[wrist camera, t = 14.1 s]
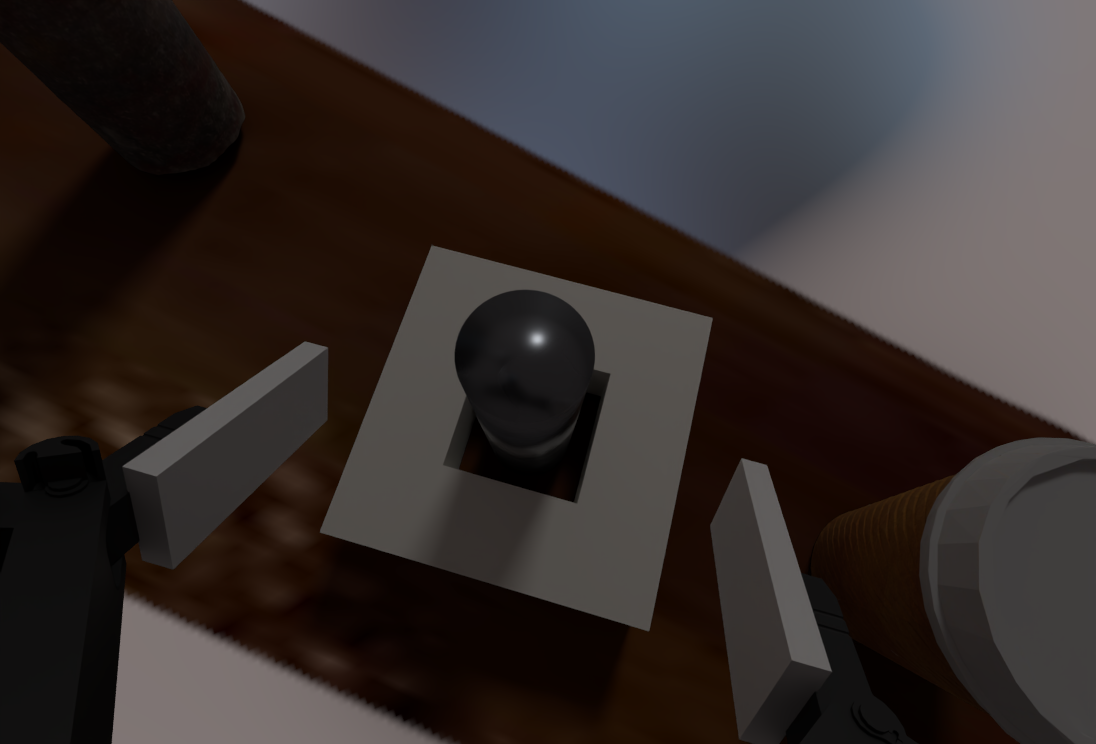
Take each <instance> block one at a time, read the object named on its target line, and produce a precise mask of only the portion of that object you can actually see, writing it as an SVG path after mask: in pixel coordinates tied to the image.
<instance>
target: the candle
mask: <svg viewBox="0 0 1096 744" xmlns="http://www.w3.org/2000/svg"><path fill="white" fill-rule="evenodd" d="M0 42H1V43H2V44H3V45H4V46H5V47H6V48H7V49H8V50H9V51H10V52H11V53H12V54H13V55H14V56H15V57H17V58H18V59H19V60H20V61H21V62H22V63H23V64H24V65H25V66H26V67H27V68H28V69H29V70H30V71H31V72H32V73H33V74H34V75H36V76H37V77H38V78H39V79H40V80H41V81H42V82H43V83H44V84H45V85H46V86H47V87H48V88H49V89H50V90H51V91H52V92H53V93H54V94H55V95H56V96H57V97H58V98H59V99H60V100H61V101H63V102H64V103H65V104H66V105H67V106H68V107H69V108H71V109H72V110H73V111H74V112H75V113H76V114H77V115H78V116H79V117H80V118H81V119H82V120H83V121H85V122H86V123H87V124H88V125H89V126H90V127H91V128H92V129H93V130H94V131H95V132H96V133H98V134H99V135H100V136H101V137H102V138H103V139H104V140H105V141H106V142H107V143H108V144H109V145H110V146H111V147H112V148H113V149H114V150H115V151H117V152H118V153H119V154H120V155H121V156H122V157H123V158H124V159H125V160H127V161H128V162H129V163H130V164H131V165H132V166H134V167H136V168H137V169H139V170H141V171H144V172H148V173H150V174H155V175H162V174H170V173H180V172H187V171H189V170H196V169H199V168H202V167H206V166H209V165H210V164H211V163H212V162H214V161H216V160H217V158H218V157H219V156H220V155H221V154H223V153H224V152H225V150H226V149H227V148H228V147H229V146H230V145H231V144H232V143H233V142H235V140H236V139H237V138H238V135H239V131H240V128H241V125H242V123H243V121H244V119H245V114H244V111H243V107H242V104H241V102H240V100H239V99H238V97H237V95H236V93H235V92H234V91H233V89H232V88H231V86H230V85H229V83H228V82H227V80H226V79H225V77H224V76H223V74H222V73H221V72H220V70H219V69H218V67H217V66H216V64H215V62H214V61H213V59H212V58H211V57H210V55H209V54H208V52H207V51H206V49H205V48H204V46H203V45H202V43H201V42H200V41H199V39H198V38H197V36H196V35H195V33H194V32H193V30H192V29H191V28H190V26H189V25H188V23H187V22H186V20H185V19H184V18H183V16H182V15H181V13H180V12H179V10H178V9H177V7H176V6H175V5H174V3H173V2H172V0H0Z"/></svg>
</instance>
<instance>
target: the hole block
mask: <svg viewBox="0 0 1096 744" xmlns="http://www.w3.org/2000/svg"><path fill="white" fill-rule="evenodd" d="M514 290H537V291H542V292H546V293H549V294H552V295H554V296H556V297H558V298H560V299H562V300H564V301H565V302H567V303H568V304H569V305H571V306H572V307H573V308H574V309H575V310H576V311H577V312H578V313H579V314H580V315H581V317H582V318H583V319H584V321H585V322H586V324H587V326H588V328H589V330H590V332H591V335H592V338H593V342H594V347H595V364H594V369H593V373H592V376H591V379H590V382H589V385H588V389H587V393H591V394H594V395H598V396H601V399H600V403H599V407H598V410H597V414H596V418H595V422H594V426H593V430H592V434H591V438H590V441H589V445H588V449H587V453H586V457H585V461H584V465H583V468H582V472H581V476H580V480H579V484H578V488H577V492H576V496H575V499H574V503H573V502H569V501H566V500H562V499H559V498H555V497H552V496H549V495H545V494H542V493H538V492H535V491H531V490H528V489H524V488H521V487H517V486H514V485H510V484H507V483H503V482H500V481H496V480H493V479H489V478H486V477H482V476H479V475H475V474H472V473H468V472H465V471H461V470H459V467H460V464H461V461H462V457H463V454H464V451H465V448H466V445H467V442H468V439H469V436H470V433H471V430H472V427H473V424H474V421H475V418H476V414H475V412H474V410H473V408H472V406H471V404H470V402H469V400H468V398H467V396H466V394H465V392H464V390H463V387H462V385H461V383H460V381H459V379H458V375H457V372H456V367H455V345H456V341H457V337H458V334H459V332H460V330H461V327H462V326H463V324H464V322H465V321H466V319H467V318H468V317H469V315H470V314H471V313H472V312H473V311H474V310H475V309H476V308H477V307H478V306H480V305H481V304H482V303H484V302H485V301H487V300H488V299H490V298H492V297H494V296H496V295H499V294H501V293H505V292H508V291H514ZM712 319H713V318H710V317H706V316H702V315H698V314H695V313H691V312H687V311H683V310H679V309H675V308H671V307H667V306H664V305H660V304H656V303H652V302H648V301H644V300H640V299H637V298H633V297H629V296H625V295H621V294H617V293H613V292H609V291H606V290H602V289H598V288H594V287H590V286H586V285H582V284H579V283H575V282H571V281H567V280H563V279H559V278H555V277H552V276H548V275H544V274H540V273H536V272H532V271H528V270H524V269H521V268H517V267H513V266H509V265H505V264H501V263H497V262H494V261H490V260H486V259H482V258H478V257H474V256H470V255H466V254H463V253H459V252H455V251H451V250H447V249H443V248H439V247H436V246H432V247H431V249H430V252H429V254H428V257H427V259H426V262H425V264H424V267H423V270H422V272H421V275H420V277H419V280H418V282H417V285H416V287H415V290H414V293H413V295H412V298H411V300H410V303H409V305H408V308H407V310H406V313H405V316H404V318H403V321H402V323H401V326H400V328H399V331H398V333H397V336H396V339H395V341H394V344H393V346H392V349H391V351H390V354H389V356H388V359H387V362H386V364H385V367H384V369H383V372H382V374H381V377H380V379H379V382H378V384H377V387H376V390H375V392H374V395H373V397H372V400H371V402H370V405H369V407H368V410H367V413H366V415H365V418H364V420H363V423H362V425H361V428H360V430H359V433H358V436H357V438H356V441H355V443H354V446H353V448H352V451H351V453H350V456H349V459H348V461H347V464H346V466H345V469H344V471H343V474H342V476H341V479H340V482H339V484H338V487H337V489H336V492H335V494H334V497H333V499H332V502H331V505H330V507H329V510H328V512H327V515H326V517H325V520H324V522H323V525H322V528H321V530H320V532H321V533H324V534H327V535H331V536H334V537H337V538H341V539H344V540H347V541H351V542H354V543H357V544H361V545H364V546H367V547H371V548H374V549H377V550H381V551H384V552H387V553H390V554H394V555H397V556H400V557H404V558H407V559H410V560H414V561H417V562H420V563H424V564H427V565H430V566H434V567H437V568H440V569H444V570H447V571H450V572H454V573H457V574H460V575H464V576H467V577H470V578H474V579H477V580H480V581H484V582H487V583H490V584H494V585H497V586H500V587H503V588H507V589H510V590H513V591H517V592H520V593H523V594H527V595H530V596H533V597H537V598H540V599H543V600H547V601H550V602H553V603H557V604H560V605H563V606H567V607H570V608H573V609H577V610H580V611H583V612H587V613H590V614H593V615H597V616H600V617H603V618H607V619H610V620H613V621H616V622H620V623H623V624H626V625H630V626H633V627H636V628H640V629H643V630H646V631H649V629H650V625H651V620H652V615H653V610H654V605H655V600H656V595H657V590H658V585H659V580H660V575H661V570H662V565H663V560H664V556H665V551H666V546H667V541H668V536H669V531H670V526H671V521H672V516H673V511H674V506H675V501H676V496H677V491H678V487H679V482H680V477H681V472H682V467H683V462H684V457H685V452H686V447H687V442H688V437H689V432H690V427H691V422H692V418H693V413H694V408H695V403H696V398H697V393H698V388H699V383H700V378H701V373H702V368H703V363H704V358H705V353H706V349H707V344H708V339H709V334H710V329H711V324H712Z"/></svg>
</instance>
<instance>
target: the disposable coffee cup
mask: <svg viewBox="0 0 1096 744" xmlns="http://www.w3.org/2000/svg"><path fill="white" fill-rule="evenodd" d="M811 575H812V576H814V577H817V578H821V579H823V581H824V582H825V583H826V585H827V586H828V587H829V589H830V590H831V591H832V593H833V594H834V595H835V596H836V598H837V600H838V603H839V606H840V608H841V611H842V614H843V617H844V618H843V620H844V621H845V622H846V625H847V627H848V630H849V636H850V637H851V638H853V639H854V640H855V641H857V642H859V643H861V644H863V645H865V646H867V647H868V648H870V649H872V650H874V651H876V652H877V653H879V654H881V655H883V656H885V657H886V658H888V659H890V660H892V661H893V662H895V663H897V664H899V665H901V666H902V667H904V668H906V669H908V670H910V671H911V672H913V673H915V674H916V675H918V676H920V677H922V678H924V679H925V680H927V681H929V682H931V683H933V684H934V685H936V686H938V687H939V688H942V689H943V690H945V691H947V692H948V693H950V694H952V695H954V696H956V697H958V698H959V699H961V700H963V701H965V702H967V703H969V704H970V705H972V706H974V707H975V708H977V709H979V710H981V711H983V712H985V713H987V714H989V715H991V716H992V718H993V719H994V720H995V721H996V722H997V723H998V724H999V725H1000V727H1001V728H1002V729H1003V730H1004V731H1005V732H1006V733H1007V734H1008V735H1010V736H1011V737H1012V738H1014V739H1015V740H1017V741H1018V742H1019V743H1021V744H1096V445H1095V444H1091V443H1086V442H1082V441H1077V440H1072V439H1064V438H1032V439H1026V440H1020V441H1015V442H1011V443H1008V444H1005V445H1002V446H998V447H996V448H994V449H992V450H990V451H988V452H986V453H984V454H982V455H981V456H979V457H977V458H975V459H974V460H973V461H971V462H970V463H969V464H968V465H967V466H966V467H965V468H963V469H962V470H961V471H960V472H959V473H958V474H955V475H953V476H949V477H946V478H944V479H942V480H937V481H935V482H933V483H931V484H926V485H924V486H922V487H917V488H915V489H913V490H910V491H907V492H905V493H901V494H899V495H896V496H892V497H890V498H887V499H884V500H882V501H879V502H876V503H873V504H870V505H868V506H865V507H862V508H860V509H856V510H854V511H849V512H847V513H844V514H842V515H840V516H838V517H836V518H835V519H833V520H832V521H831V522H829V523H828V524H827V525H826V527H825V528H824V529H823V530H822V531H821V533H820V535H819V537H818V539H817V541H816V543H815V545H814V549H813V553H812V557H811Z"/></svg>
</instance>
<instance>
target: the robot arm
mask: <svg viewBox="0 0 1096 744" xmlns="http://www.w3.org/2000/svg"><path fill="white" fill-rule="evenodd" d="M327 397H328V348H327V347H324V346H320V345H316V344H312V343H309V342H304V343H302V344H301V345H299V346H298V347H296V348H295V349H293V350H292V351H290V352H289V353H288V354H286V355H285V356H283V357H282V358H280V359H279V360H277V361H276V362H274V363H273V364H271V365H270V366H269V367H267V368H266V369H264V370H263V371H261V372H260V373H258V374H257V375H255V376H254V377H252V378H251V379H250V380H248V381H247V382H245V383H244V384H242V385H241V386H239V387H238V388H236V389H235V390H233V391H232V392H231V393H229V394H228V395H226V396H225V397H223V398H222V399H220V400H219V401H217V402H216V403H214V404H213V405H211V406H210V407H209V408H204V407H200V406H195V407H192V408H189V409H186V410H183V411H180V412H177V413H175V414H173V415H172V416H170V417H168V418H167V419H165V420H164V421H162V422H161V423H159V424H158V426H157V427H153V428H151V429H150V430H148V431H147V432H145V433H144V435H143V436H139V437H138V438H136V439H135V440H133V441H131V442H130V443H128V444H127V445H125V446H124V447H122V448H121V449H119V450H118V451H116V452H114V453H113V454H111V455H110V456H108V457H107V458H105V459H104V460H102V459H101V454H100V450H99V447H98V443H97V442H95V441H94V440H92V439H90V438H86V437H81V436H61V437H56V438H51V439H46V440H44V441H41V442H39V443H36V444H33V445H31V446H29V447H28V448H26V449H25V450H23V451H22V452H20V453H19V455H18V456H17V457H16V459H15V460H14V462H15V465H16V468H17V471H18V474H19V477H20V480H21V483H7V482H0V744H111V743H112V732H113V720H114V708H115V696H116V683H117V671H118V660H119V647H120V635H121V623H122V610H123V599H124V587H125V575H126V560H125V556H124V554H125V553H126V552H127V551H128V550H130V549H131V548H132V547H133V546H134V545H135V544H137V543H138V542H139V547H140V551H141V556H142V560H143V561H146V562H150V563H153V564H156V565H160V566H163V567H166V568H170V569H174V568H175V567H176V566H177V565H178V564H179V563H180V562H181V561H182V560H184V559H185V558H186V557H187V556H188V555H189V554H190V553H191V552H192V551H193V550H194V549H195V548H196V547H197V546H198V545H199V544H200V543H201V542H202V541H203V540H204V539H205V538H206V537H207V536H208V535H209V534H210V533H211V532H212V531H213V530H214V529H215V528H216V527H218V526H219V525H220V524H221V523H222V522H223V521H224V520H225V519H226V518H227V517H228V516H229V515H230V514H231V513H232V512H233V511H234V510H235V509H236V508H237V507H238V506H239V505H240V504H241V503H242V502H243V501H244V500H245V499H246V498H247V497H248V496H249V495H250V494H252V493H253V492H254V491H255V490H256V489H257V488H258V487H259V486H260V485H261V484H262V483H263V482H264V481H265V480H266V479H267V478H268V477H269V476H270V475H271V474H272V473H273V472H274V471H275V470H276V469H277V468H278V467H279V466H280V465H281V464H282V463H283V462H284V461H285V460H287V459H288V458H289V457H290V456H291V455H292V454H293V453H294V452H295V451H296V450H297V449H298V448H299V447H300V446H301V445H302V444H303V443H304V442H305V441H306V440H307V439H308V438H309V437H310V436H311V435H312V434H313V433H314V432H315V431H316V430H317V429H318V428H319V427H321V426H322V425H323V424H324V423H325V422H326V421H327ZM710 528H711V535H712V542H713V550H714V557H715V565H716V572H717V579H718V587H719V594H720V601H721V609H722V616H723V623H724V631H725V638H726V646H727V653H728V660H729V668H730V675H731V682H732V690H733V697H734V705H735V712H736V719H737V727H738V734H739V739H740V740H743V741H746V742H750V743H753V744H779V743H780V742H781V741H782V739H783V738H784V737H785V735H786V736H787V741H788V744H918V743H917V742H915V741H914V740H912V739H911V738H909V737H908V736H906V733H905V729H904V727H903V726H902V724H901V723H900V721H899V720H898V718H897V716H896V715H895V714H894V713H893V712H892V711H891V710H890V709H889V708H888V707H887V706H886V705H885V704H884V703H883V702H882V701H881V700H879V699H878V698H876V697H875V696H873V694H872V692H871V689H870V686H869V684H868V681H867V678H866V676H865V673H864V670H863V668H862V665H861V662H860V660H859V657H858V654H857V652H856V649H855V646H854V643H853V641H852V638H851V637H850V636H849V630H848V627H847V625H846V622H845V621H844V620H843V618H844V617H843V614H842V611H841V608H840V606H839V603H838V600H837V598H836V596H835V595H834V594H833V593H832V591H831V590H830V589H829V587H828V586H827V585H826V583H825V582H824V581H823V579H821V578H817V577H814V576H810V575H807V574H803V573H801V572H800V569H799V566H798V563H797V559H796V556H795V553H794V550H793V547H792V544H791V540H790V537H789V534H788V531H787V528H786V524H785V521H784V518H783V515H782V512H781V509H780V505H779V502H778V499H777V496H776V493H775V490H774V486H773V483H772V480H771V477H770V474H769V471H768V467H767V465H764V464H760V463H757V462H753V461H749V460H745V459H742V458H741V460H740V463H739V465H738V467H737V469H736V471H735V473H734V476H733V478H732V480H731V482H730V484H729V486H728V489H727V491H726V493H725V495H724V497H723V499H722V502H721V504H720V506H719V508H718V510H717V512H716V515H715V517H714V519H713V521H712V523H711V525H710Z"/></svg>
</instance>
